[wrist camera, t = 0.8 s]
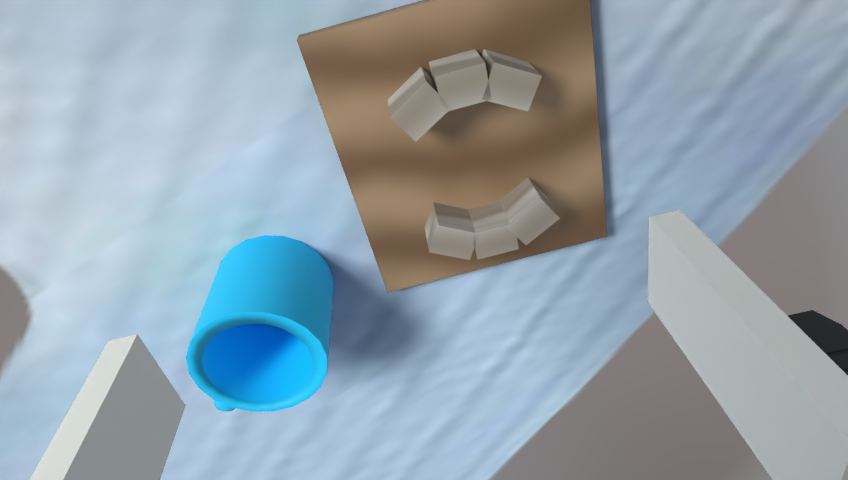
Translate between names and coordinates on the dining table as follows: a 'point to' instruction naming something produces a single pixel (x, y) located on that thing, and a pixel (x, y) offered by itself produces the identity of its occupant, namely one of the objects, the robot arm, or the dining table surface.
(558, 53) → the board
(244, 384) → the mug
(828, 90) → the dining table surface
